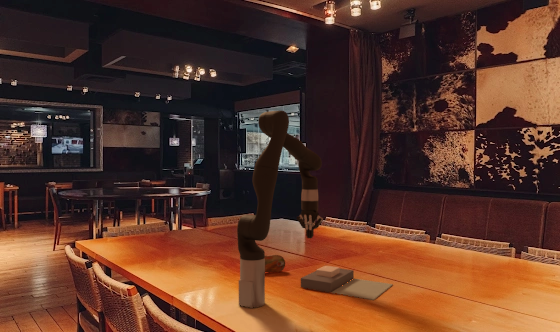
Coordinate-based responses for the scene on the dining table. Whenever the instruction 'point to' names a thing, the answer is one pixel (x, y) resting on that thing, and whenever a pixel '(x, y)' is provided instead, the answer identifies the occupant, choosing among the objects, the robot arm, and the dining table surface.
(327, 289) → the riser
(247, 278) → the robot arm
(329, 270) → the tile
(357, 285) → the mat
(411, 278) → the dining table surface
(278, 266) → the tin
